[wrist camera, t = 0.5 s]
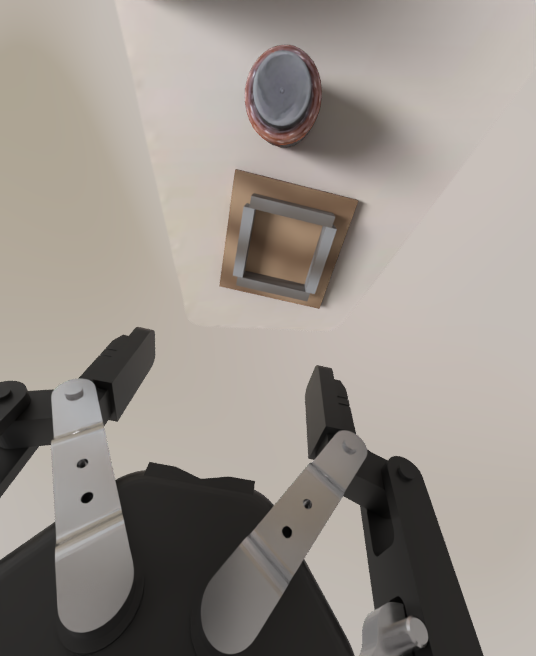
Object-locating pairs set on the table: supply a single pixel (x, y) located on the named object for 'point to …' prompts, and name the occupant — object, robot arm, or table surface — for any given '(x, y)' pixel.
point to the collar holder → (283, 238)
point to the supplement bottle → (283, 95)
